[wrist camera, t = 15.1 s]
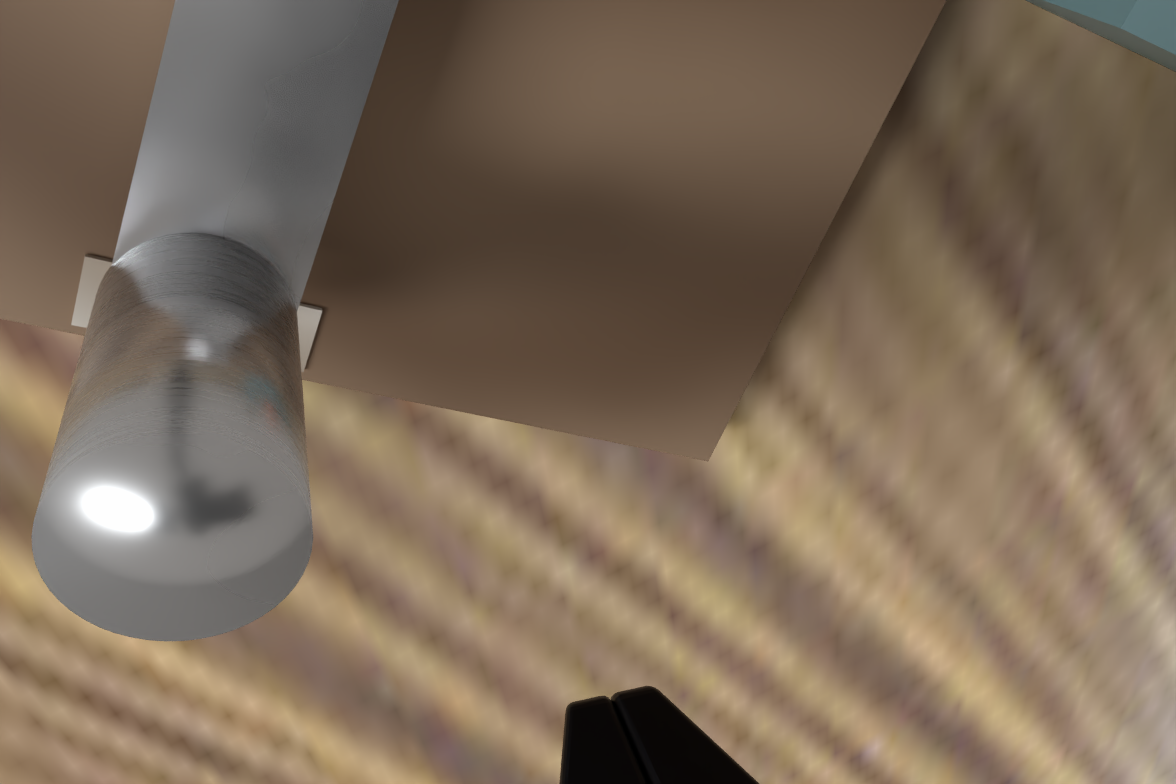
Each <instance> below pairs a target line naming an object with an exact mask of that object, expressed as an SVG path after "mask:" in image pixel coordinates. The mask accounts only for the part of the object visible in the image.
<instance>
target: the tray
mask: <svg viewBox="0 0 1176 784" xmlns="http://www.w3.org/2000/svg"><path fill="white" fill-rule="evenodd" d="M1026 1H1028V2H1030V3H1032V4H1034V5H1036V6H1039V7H1041V8H1043V9H1045V10H1047V11H1049V12H1051V13H1053V14H1055V15H1057V16H1060V17H1062V18H1064V19H1066V20H1068V21H1070V22H1072V23H1074V24H1076V25H1079V26H1081V27H1083V28H1085V29H1087V30H1089V31H1091V32H1093V33H1095V34H1097V35H1100V36H1102V37H1104V38H1106V39H1108V40H1110V41H1112V42H1114V43H1116V44H1119V45H1121V46H1123V47H1125V48H1127V49H1129V50H1131V51H1133V52H1135V53H1137V54H1140V55H1142V56H1144V57H1146V58H1148V59H1150V60H1152V61H1154V62H1156V63H1159V64H1161V65H1163V66H1165V67H1167V68H1169V69H1171V70H1173V71H1175V72H1176V0H1026Z"/></svg>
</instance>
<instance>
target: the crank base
mask: <svg viewBox="0 0 1176 784" xmlns="http://www.w3.org/2000/svg"><path fill="white" fill-rule="evenodd" d="M946 1H947V0H399V1H398V4H397V7H396V10H395V14H394V17H393V20H392V23H391V26H390V29H389V32H388V35H387V38H386V41H385V44H384V47H383V50H382V53H381V56H380V59H379V63H378V66H377V69H376V72H375V75H374V78H373V81H372V84H371V87H370V90H369V93H368V96H367V99H366V102H365V105H364V108H363V112H362V115H361V118H360V121H359V124H358V127H357V130H356V133H355V136H354V139H353V142H352V145H351V148H350V151H349V154H348V157H347V161H346V164H345V167H344V170H343V173H342V176H341V179H340V182H339V185H338V188H337V191H336V194H335V197H334V200H333V203H332V206H331V210H330V213H329V216H328V219H327V222H326V225H325V228H324V231H323V234H322V237H321V240H320V243H319V246H318V249H317V252H316V256H315V259H314V262H313V265H312V268H311V271H310V274H309V277H308V280H307V283H306V286H305V289H304V292H303V295H302V298H301V301H300V305H299V308H298V311H297V317H298V332H299V346H300V360H301V374H302V380H307V381H312V382H317V383H321V384H326V385H331V386H336V387H341V388H346V389H351V390H356V391H361V392H366V393H371V394H376V395H381V396H386V397H391V398H396V399H401V400H406V401H411V402H416V403H421V404H426V405H431V406H436V407H441V408H446V409H451V410H455V411H460V412H465V413H470V414H475V415H480V416H485V417H490V418H495V419H500V420H505V421H510V422H515V423H520V424H525V425H530V426H535V427H540V428H545V429H550V430H555V431H560V432H565V433H570V434H575V435H580V436H585V437H589V438H594V439H599V440H604V441H609V442H614V443H619V444H624V445H629V446H634V447H639V448H644V449H649V450H654V451H659V452H664V453H669V454H674V455H679V456H684V457H689V458H694V459H699V460H704V461H709V459H710V457H711V455H712V453H713V451H714V449H715V447H716V445H717V443H718V441H719V439H720V437H721V436H722V434H723V432H724V430H725V428H726V426H727V424H728V422H729V420H730V418H731V416H732V414H733V412H734V410H735V408H736V407H737V405H738V403H739V401H740V399H741V397H742V395H743V393H744V391H745V389H746V387H747V385H748V383H749V381H750V379H751V378H752V376H753V374H754V372H755V370H756V368H757V366H758V364H759V362H760V360H761V358H762V356H763V354H764V352H765V350H766V349H767V347H768V345H769V343H770V341H771V339H772V337H773V335H774V333H775V331H776V329H777V327H778V325H779V323H780V321H781V320H782V318H783V316H784V314H785V312H786V310H787V308H788V306H789V304H790V302H791V300H792V298H793V296H794V294H795V292H796V291H797V289H798V287H799V285H800V283H801V281H802V279H803V277H804V275H805V273H806V271H807V269H808V267H809V265H810V264H811V262H812V260H813V258H814V256H815V254H816V252H817V250H818V248H819V246H820V244H821V242H822V240H823V238H824V236H825V235H826V233H827V231H828V229H829V227H830V225H831V223H832V221H833V219H834V217H835V215H836V213H837V211H838V209H839V207H840V206H841V204H842V202H843V200H844V198H845V196H846V194H847V192H848V190H849V188H850V186H851V184H852V182H853V180H854V178H855V177H856V175H857V173H858V171H859V169H860V167H861V165H862V163H863V161H864V159H865V157H866V155H867V153H868V151H869V149H870V148H871V146H872V144H873V142H874V140H875V138H876V136H877V134H878V132H879V130H880V128H881V126H882V124H883V122H884V120H885V119H886V117H887V115H888V113H889V111H890V109H891V107H892V105H893V103H894V101H895V99H896V97H897V95H898V93H899V91H900V90H901V88H902V86H903V84H904V82H905V80H906V78H907V76H908V74H909V72H910V70H911V68H912V66H913V64H914V62H915V61H916V59H917V57H918V55H919V53H920V51H921V49H922V47H923V45H924V43H925V41H926V39H927V37H928V35H929V33H930V32H931V30H932V28H933V26H934V24H935V22H936V20H937V18H938V16H939V14H940V12H941V10H942V8H943V6H944V4H945V3H946ZM174 4H175V0H0V319H4V320H9V321H14V322H19V323H24V324H29V325H34V326H39V327H44V328H49V329H53V330H58V331H63V332H68V333H73V334H78V335H83V336H85V333H86V330H87V326H88V322H89V319H90V315H91V312H92V308H93V304H94V301H95V297H96V294H97V291H98V288H99V285H100V283H101V281H102V279H103V277H104V275H105V273H106V272H107V271H108V269H109V268H110V266H111V265H112V262H113V258H114V254H115V250H116V246H117V241H118V237H119V233H120V229H121V225H122V220H123V216H124V212H125V208H126V204H127V200H128V195H129V191H130V187H131V183H132V179H133V175H134V170H135V166H136V162H137V158H138V154H139V150H140V145H141V141H142V137H143V133H144V129H145V125H146V120H147V116H148V112H149V108H150V104H151V100H152V95H153V91H154V87H155V83H156V79H157V75H158V70H159V66H160V62H161V58H162V54H163V50H164V45H165V41H166V37H167V33H168V29H169V25H170V20H171V16H172V12H173V8H174Z"/></svg>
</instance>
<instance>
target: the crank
mask: <svg viewBox="0 0 1176 784" xmlns="http://www.w3.org/2000/svg"><path fill="white" fill-rule="evenodd" d="M398 1H399V0H175V4H174V8H173V12H172V16H171V20H170V25H169V29H168V33H167V37H166V41H165V45H164V50H163V54H162V58H161V62H160V66H159V70H158V75H157V79H156V83H155V87H154V91H153V95H152V100H151V104H150V108H149V112H148V116H147V120H146V125H145V129H144V133H143V137H142V141H141V145H140V150H139V154H138V158H137V162H136V166H135V170H134V175H133V179H132V183H131V187H130V191H129V195H128V200H127V204H126V208H125V212H124V216H123V220H122V225H121V229H120V233H119V237H118V241H117V246H116V250H115V254H114V258H113V262H112V265H111V266H110V268H109V269H108V271H107V272H106V273H105V275H104V277H103V279H102V281H101V283H100V285H99V288H98V291H97V294H96V297H95V301H94V304H93V308H92V312H91V315H90V319H89V322H88V326H87V330H86V333H85V337H84V341H83V344H82V348H81V352H80V355H79V359H78V362H77V366H76V370H75V373H74V377H73V381H72V384H71V388H70V392H69V395H68V399H67V403H66V406H65V410H64V413H63V417H62V421H61V424H60V428H59V432H58V435H57V439H56V443H55V446H54V450H53V454H52V457H51V461H50V464H49V468H48V472H47V475H46V479H45V483H44V486H43V490H42V494H41V497H40V501H39V504H38V508H37V512H36V515H35V519H34V523H33V530H32V551H33V555H34V559H35V564H36V566H37V568H38V571H39V573H40V575H41V578H42V579H43V581H44V582H45V584H46V585H47V587H48V588H49V590H50V591H51V592H52V593H53V594H54V596H55V597H56V598H57V599H58V600H59V601H60V602H61V603H62V604H64V605H65V606H66V607H67V608H68V609H69V610H70V611H72V612H73V613H75V614H76V615H78V616H79V617H81V618H83V619H84V620H86V621H88V622H90V623H92V624H94V625H96V626H98V627H100V628H103V629H106V630H108V631H111V632H114V633H117V634H121V635H124V636H128V637H133V638H139V639H145V640H155V641H185V640H194V639H202V638H206V637H211V636H216V635H219V634H223V633H226V632H229V631H232V630H235V629H237V628H240V627H242V626H244V625H247V624H249V623H251V622H252V621H254V620H256V619H258V618H260V617H262V616H263V615H264V614H266V613H267V612H269V611H270V610H272V609H273V608H274V607H276V606H277V605H278V604H279V603H280V602H281V601H282V600H283V599H285V598H286V596H287V595H288V594H289V593H290V592H291V591H292V590H293V588H294V587H295V586H296V584H297V583H298V581H299V580H300V578H301V577H302V575H303V573H304V571H305V569H306V566H307V564H308V561H309V558H310V554H311V551H312V541H313V531H312V516H311V502H310V488H309V474H308V459H307V445H306V431H305V417H304V403H303V388H302V374H301V360H300V346H299V332H298V317H297V311H298V308H299V305H300V301H301V298H302V295H303V292H304V289H305V286H306V283H307V280H308V277H309V274H310V271H311V268H312V265H313V262H314V259H315V256H316V252H317V249H318V246H319V243H320V240H321V237H322V234H323V231H324V228H325V225H326V222H327V219H328V216H329V213H330V210H331V206H332V203H333V200H334V197H335V194H336V191H337V188H338V185H339V182H340V179H341V176H342V173H343V170H344V167H345V164H346V161H347V157H348V154H349V151H350V148H351V145H352V142H353V139H354V136H355V133H356V130H357V127H358V124H359V121H360V118H361V115H362V112H363V108H364V105H365V102H366V99H367V96H368V93H369V90H370V87H371V84H372V81H373V78H374V75H375V72H376V69H377V66H378V63H379V59H380V56H381V53H382V50H383V47H384V44H385V41H386V38H387V35H388V32H389V29H390V26H391V23H392V20H393V17H394V14H395V10H396V7H397V4H398Z"/></svg>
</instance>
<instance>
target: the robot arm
mask: <svg viewBox="0 0 1176 784" xmlns="http://www.w3.org/2000/svg"><path fill="white" fill-rule="evenodd" d="M560 784H759V783H758V782H757V781H756V780H755V779H754V778H753V777H752V776H750V775H749V774H748V773H747V772H746V771H745V770H744V769H743V768H742V767H741V766H740V765H739V764H738V763H736V762H735V761H734V760H733V759H732V758H731V757H730V756H729V755H728V754H727V753H726V752H725V751H724V750H723V749H721V748H720V747H719V746H718V745H717V744H716V743H715V742H714V741H713V740H712V739H711V738H710V737H709V736H707V735H706V734H705V733H704V732H703V731H702V730H701V729H700V728H699V727H698V726H697V725H696V724H695V723H693V722H692V721H691V720H690V719H689V718H688V717H687V716H686V715H685V714H684V713H683V712H682V711H681V710H679V709H678V708H677V707H676V706H675V705H674V704H673V703H672V702H671V701H670V700H669V699H668V698H667V697H666V696H664V695H663V694H662V693H661V692H660V691H659V690H658V689H656V688H654V687H651V686H644V687H639V688H635V689H630V690H626V691H621V692H617V693H615V694H614V695H613V696H612V697H611V700H610V699H609V698H608V697H606V696H598V697H594V698H589V699H585V700H580V701H575V702H572V703H570V704H569V705H568V706H567V708H566V713H565V724H564V736H563V749H562V761H561V773H560Z"/></svg>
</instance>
